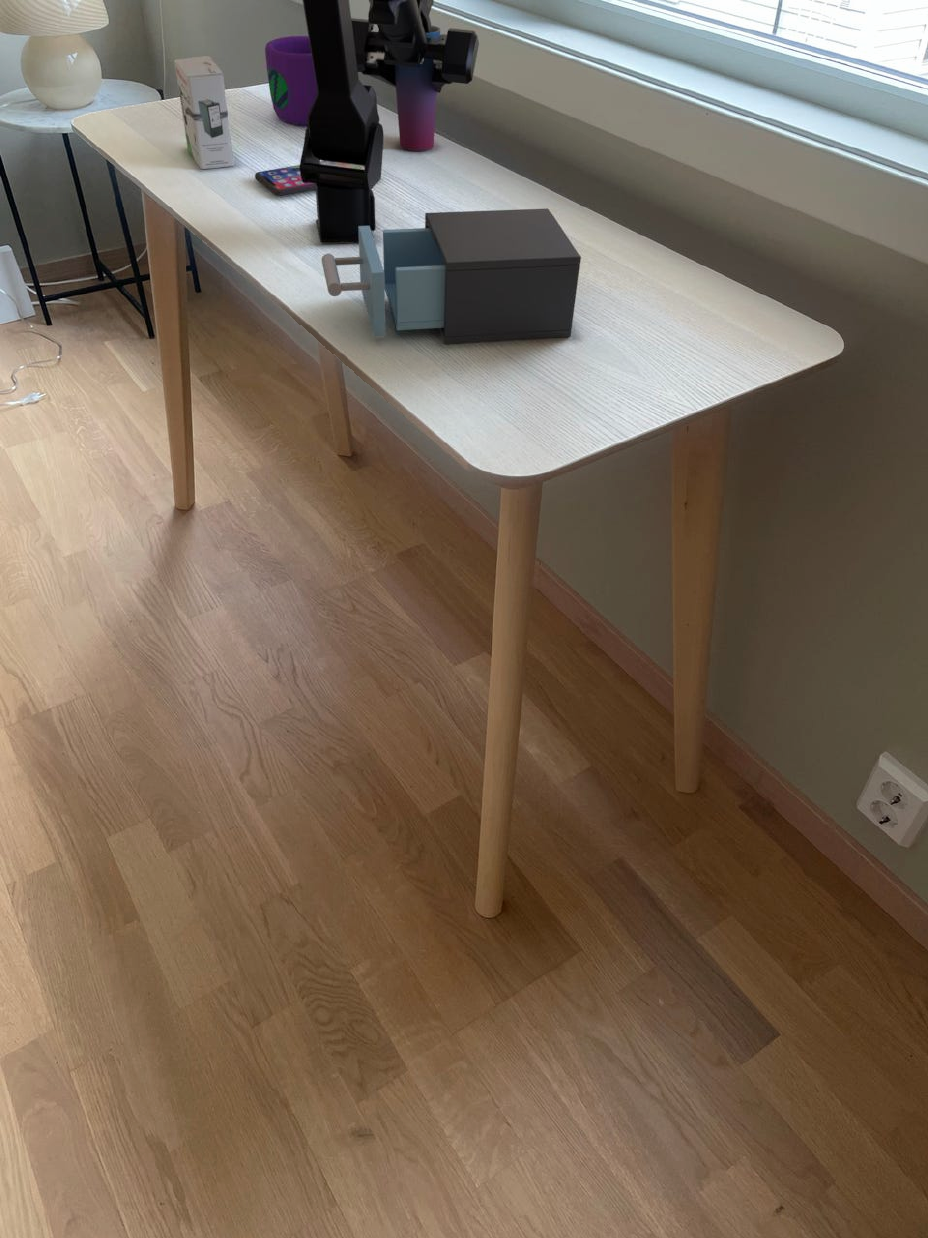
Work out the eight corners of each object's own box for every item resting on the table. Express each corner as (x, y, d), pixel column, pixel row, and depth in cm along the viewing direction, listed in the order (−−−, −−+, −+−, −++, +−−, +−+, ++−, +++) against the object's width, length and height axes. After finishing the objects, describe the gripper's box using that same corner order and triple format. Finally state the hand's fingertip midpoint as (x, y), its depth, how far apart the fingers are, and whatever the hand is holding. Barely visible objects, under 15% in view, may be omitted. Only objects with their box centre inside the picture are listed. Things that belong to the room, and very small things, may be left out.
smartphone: (377, 173, 127) (276, 191, 121) (377, 180, 128) (277, 198, 121) (351, 155, 131) (252, 171, 125) (351, 162, 132) (253, 179, 126)
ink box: (186, 149, 133) (171, 56, 125) (220, 146, 135) (208, 54, 126) (200, 170, 128) (186, 74, 119) (236, 166, 129) (224, 71, 121)
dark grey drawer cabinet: (444, 344, 95) (446, 262, 89) (424, 290, 104) (425, 212, 98) (570, 336, 98) (581, 256, 92) (540, 284, 106) (548, 207, 100)
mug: (257, 113, 146) (249, 41, 139) (315, 101, 152) (311, 31, 145) (322, 144, 137) (318, 68, 130) (382, 130, 143) (381, 56, 136)
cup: (405, 154, 135) (403, 34, 125) (387, 141, 139) (383, 25, 129) (447, 149, 137) (448, 31, 127) (427, 137, 142) (427, 22, 132)
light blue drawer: (332, 340, 93) (328, 274, 88) (322, 289, 101) (318, 227, 96) (493, 330, 96) (497, 266, 91) (471, 282, 104) (474, 221, 99)
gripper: (479, -41, 117) (491, 38, 133) (339, -54, 120) (367, 25, 135) (463, 45, 117) (477, 114, 133) (323, 30, 120) (353, 100, 135)
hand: (418, 86), depth 134 cm, fingers closed on cup, 6 cm apart
